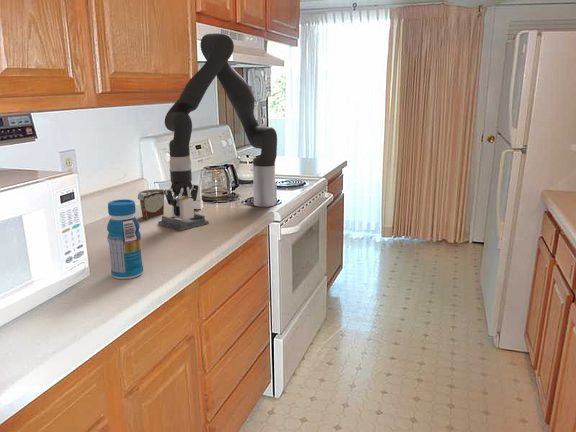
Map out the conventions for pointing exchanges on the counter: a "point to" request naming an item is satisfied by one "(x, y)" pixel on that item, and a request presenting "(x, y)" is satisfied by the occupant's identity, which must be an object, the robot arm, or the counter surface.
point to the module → (185, 208)
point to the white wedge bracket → (198, 200)
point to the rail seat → (183, 222)
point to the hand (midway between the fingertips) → (183, 214)
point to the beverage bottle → (124, 240)
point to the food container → (151, 203)
